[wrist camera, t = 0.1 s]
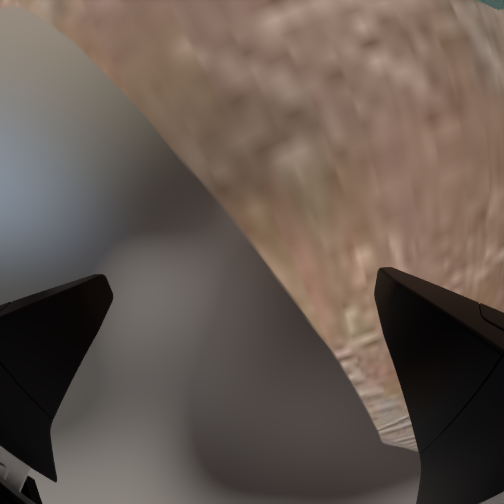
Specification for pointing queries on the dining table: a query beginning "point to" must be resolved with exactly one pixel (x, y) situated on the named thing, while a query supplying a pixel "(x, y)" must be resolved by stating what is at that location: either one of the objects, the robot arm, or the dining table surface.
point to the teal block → (494, 3)
